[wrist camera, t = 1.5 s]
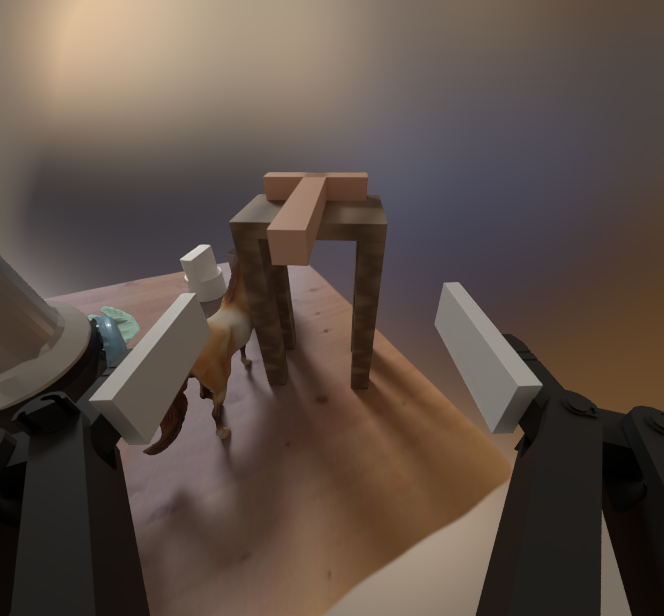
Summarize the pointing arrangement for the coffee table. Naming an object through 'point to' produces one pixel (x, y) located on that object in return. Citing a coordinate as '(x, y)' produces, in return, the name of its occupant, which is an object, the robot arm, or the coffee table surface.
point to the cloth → (121, 322)
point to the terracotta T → (305, 209)
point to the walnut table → (273, 281)
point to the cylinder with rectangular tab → (203, 274)
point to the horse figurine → (214, 360)
